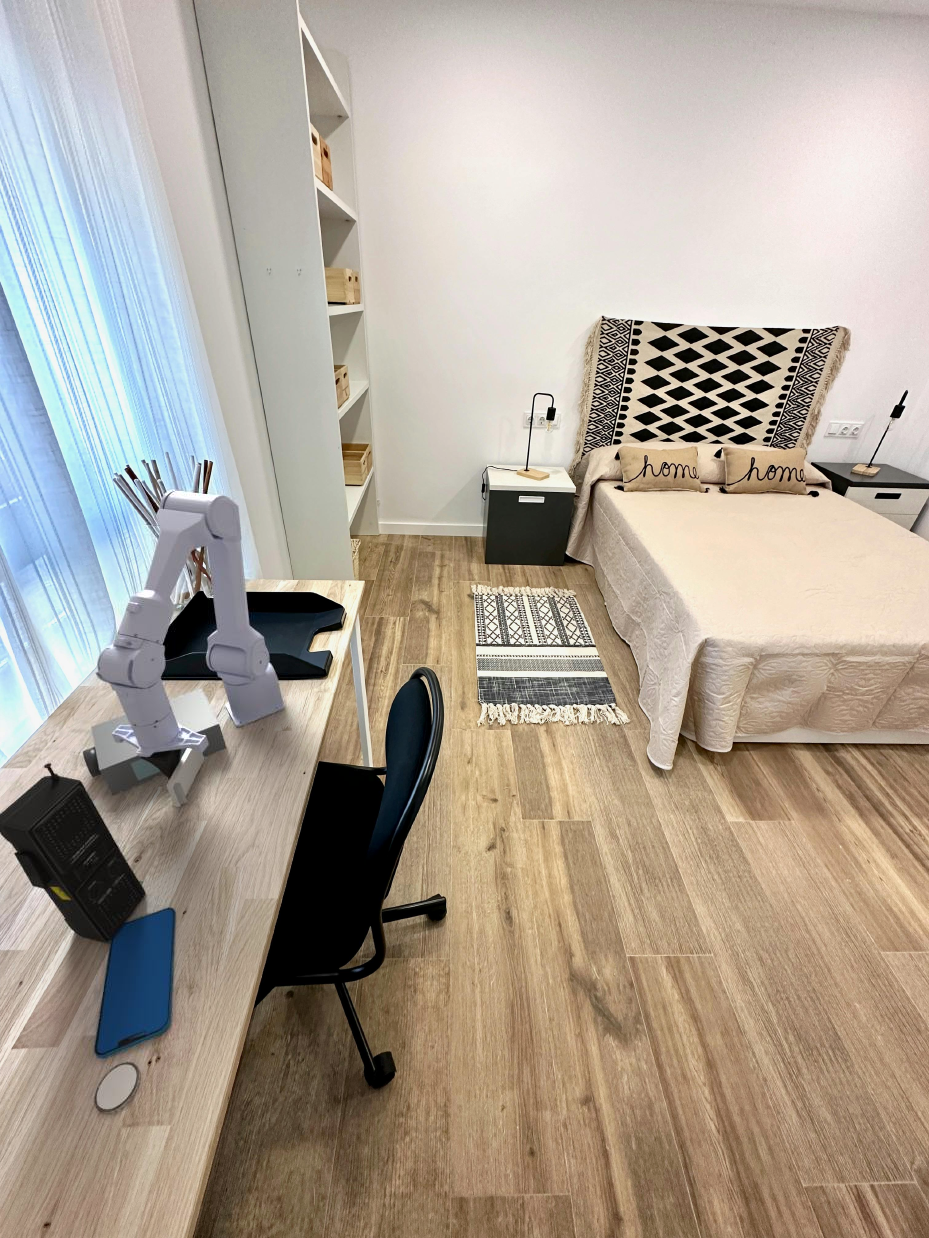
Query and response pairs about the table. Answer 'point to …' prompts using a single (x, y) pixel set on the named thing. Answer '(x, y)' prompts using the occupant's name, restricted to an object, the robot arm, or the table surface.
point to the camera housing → (122, 758)
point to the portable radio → (72, 856)
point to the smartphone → (137, 983)
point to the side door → (184, 776)
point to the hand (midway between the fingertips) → (175, 775)
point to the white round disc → (116, 1087)
